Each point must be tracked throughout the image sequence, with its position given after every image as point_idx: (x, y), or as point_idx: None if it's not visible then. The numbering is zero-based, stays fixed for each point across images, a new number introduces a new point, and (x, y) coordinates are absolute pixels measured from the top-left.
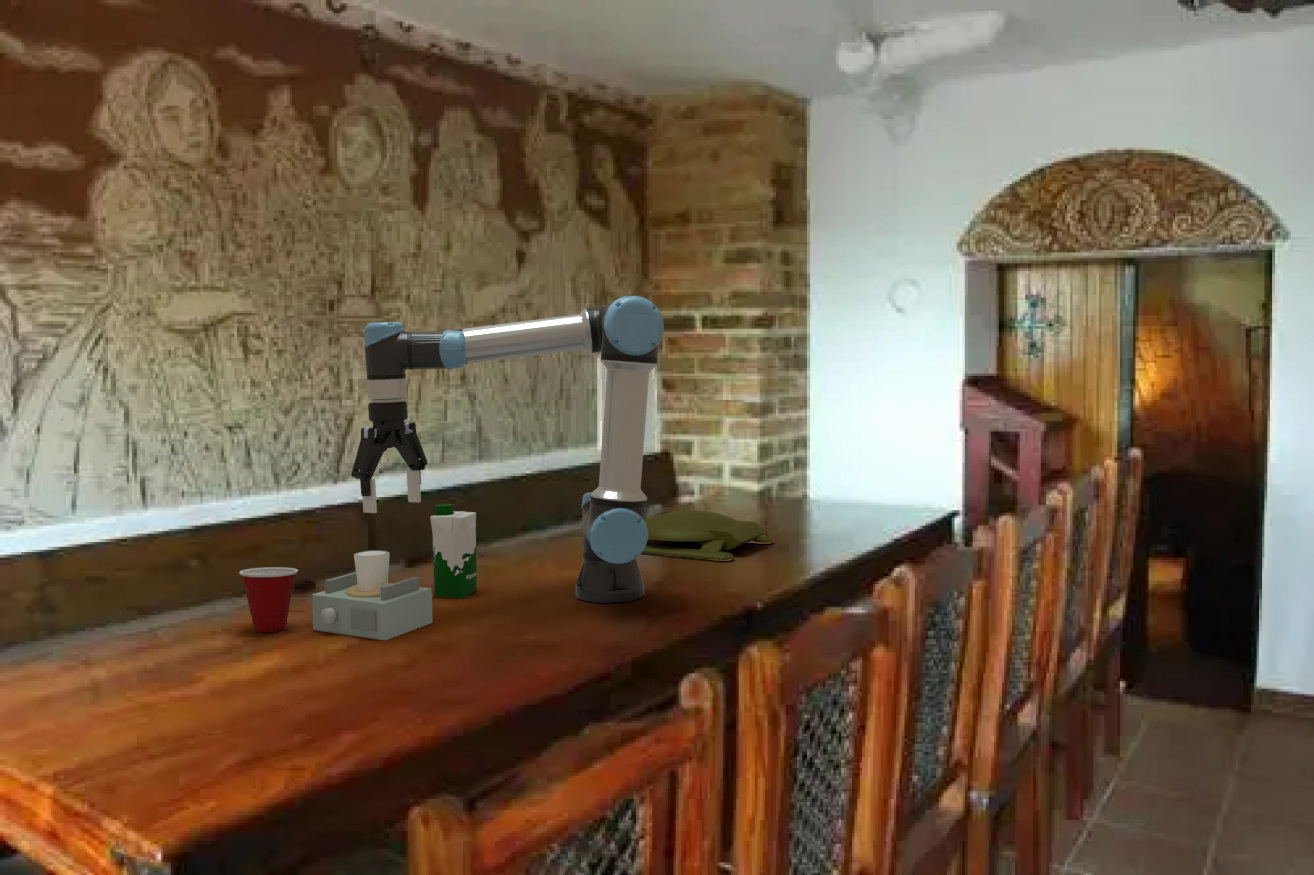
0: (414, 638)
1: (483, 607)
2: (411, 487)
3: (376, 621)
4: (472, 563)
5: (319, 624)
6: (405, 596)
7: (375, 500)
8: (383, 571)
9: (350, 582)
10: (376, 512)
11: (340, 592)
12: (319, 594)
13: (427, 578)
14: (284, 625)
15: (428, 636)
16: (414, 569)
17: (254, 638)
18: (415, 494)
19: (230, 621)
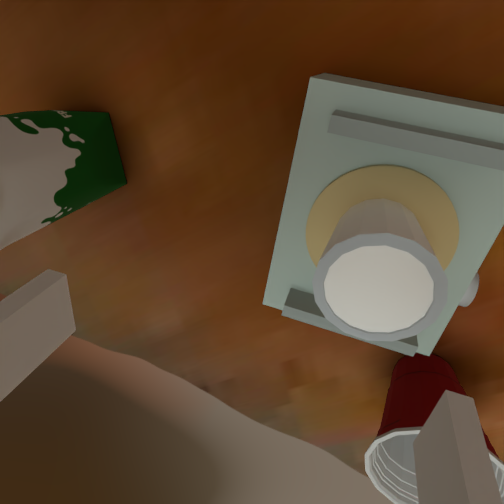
0: (491, 36)
1: (156, 16)
2: (3, 370)
3: None
4: (24, 113)
5: None
6: (437, 105)
7: (471, 472)
8: (399, 218)
9: None
10: (449, 391)
11: None
12: (426, 341)
13: (33, 253)
14: (426, 357)
15: (466, 3)
16: (5, 295)
17: (492, 378)
18: (33, 318)
19: (374, 436)
